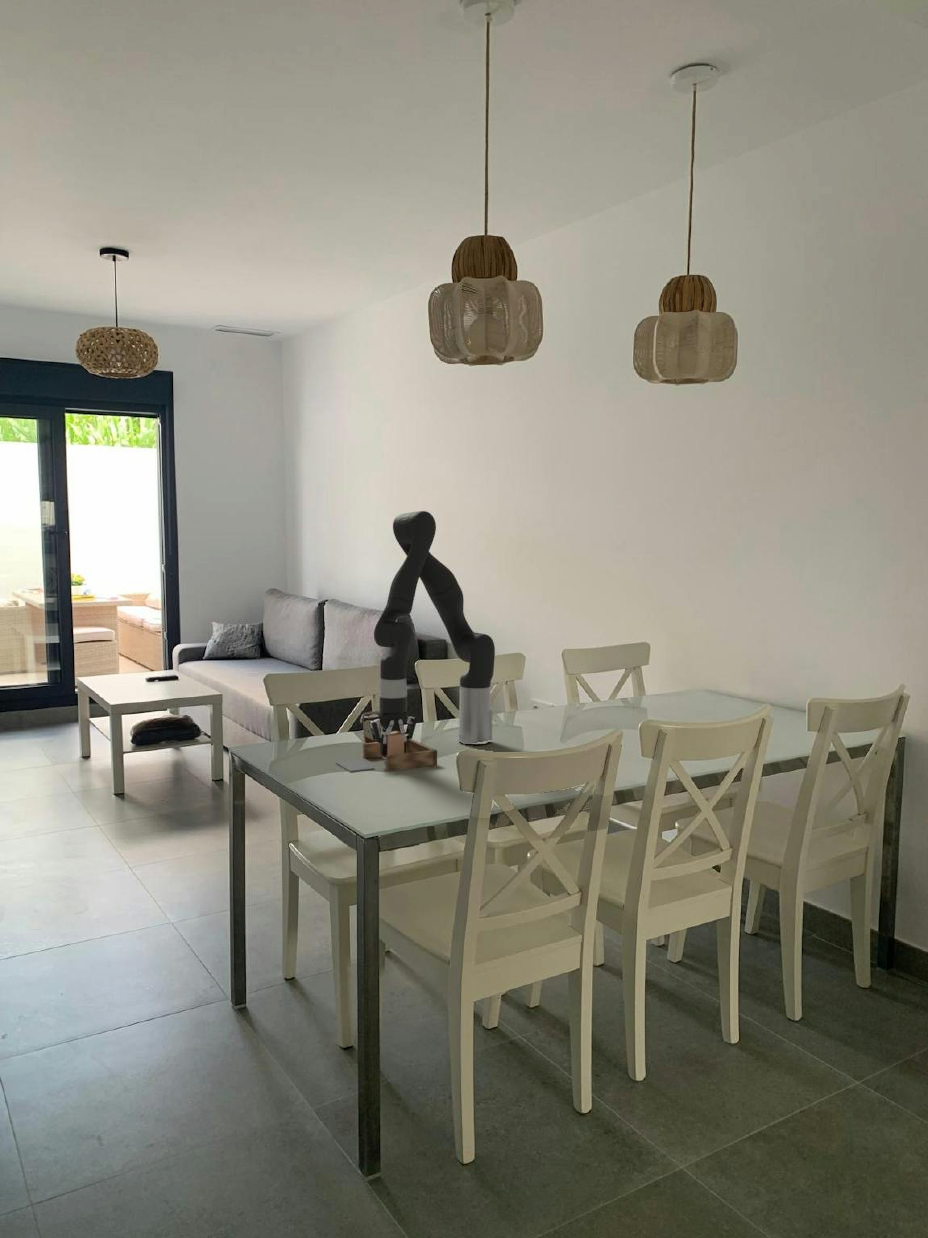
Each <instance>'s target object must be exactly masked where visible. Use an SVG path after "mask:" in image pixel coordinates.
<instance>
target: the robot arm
mask: <svg viewBox="0 0 928 1238" xmlns="http://www.w3.org/2000/svg"><path fill="white" fill-rule="evenodd" d="M436 524H437V523H436V519H435V517H434V516H433V515H432V513H431V512H429V511H425V510H419V511H413V512H406V513H400V514H399V515H397V516H395V518H394V520H393V521H392V532H393V534H394V537H395V540H396V541H397V543H398V545H399V546H400V548H401V550H402V551H403V552H404V554H405V555H406V558H405V560H404V561H403V562H402V564H401V566H400V567H399V569H398V571H396V573H395V575H394V577H393V579H392V581H391V584H390V588H389V593H388V596H387V602H386V605H385V607H384V609H383V611H382V613H381V615H380V617H379V619H378V620H377V621H376V625H375V627H374V630H373V639H374V642H375V644H376V645H377V646H379V647H382V648H392V649H395V651H394V654H393V655H387V656H384V657H382V658H381V659H380V667H379V668H380V673H379V674H380V675H379V677H380V678H379V679H380V680H379V693H378V694H379V696H378V697H379V698H378V699H379V701H378V702H379V707H378V709H379V710H378V711H380V715H379V717H378V719H377V720H374V721H369V725H370V729H371V733H372V736H373V740H374V741H376V742H378V743H380V753H381V755H382V756H383V757H386V755H387V744H386V743H387V740H388V736H390V733H391V732H393V731H396V732H398V733H400V734H404V753H405V752H406V741H407V740H408V739H413V736H414V733H415V729H416V725H417V722H418V719H417V718H416V717H414V716H408V713H407V711H408V685H407V662H408V657H409V654H410V650H411V645H412V643H413V638H414V632H413V629H412V626H411V625H410V624H408V623H407V622H401V621H400V622H399V621H397V620H398V619H400V618H403V617H407V616H410V614H411V612H412V610H413V605H414V600H415V596H416V591H417V587H418V583H419V579H420V581H421V582H422V584H423V586H424V589H425V590H426V593H427V595H428V597H429V599H430V601H431V602H432V605H433V606H434V607H435V609H436V612H437V614H438V616H439V617H440V619H441V621H442V623H443V626H444V628H445V629H446V632H447V633H448V637H449V639H450V642H451V644H452V647H453V650H454V652H455V654H456V656H457V657H458V658H459V659H460V660H461V661H463V662H465V663H469V668H468V672H467V673H466V674H463V675H461V676H460V678H459V707H458V708H459V709H458V710H459V712H458V715H459V717H458V720H459V721H458V724H459V725H458V726H459V727H458V743H459V742H461V743H463V744H462V745H465V744H471V743H477V742H483V741H488V740H492V741H493V724H494V723H493V721H494V720H493V717H494V715H493V713H494V712H493V711H492V710H491V685H492V683H491V682H492V679H493V677H494V671H495V655H496V652H495V651H496V650H495V642H494V640H493V638H492V637H491V636H490V635H489V634H485V633H479V632H474V631H473V629H472V628H471V626H470V625H469V623H468V621H467V619H466V617H465V613H464V601H465V600H464V593H463V590H462V588H461V587H460V585H459V582H458V580H457V578H456V577H455V574H454V573H453V572H452V571H451V570H450V569H449V568H448V566H446V565H445V564H444V563H442V562H441V561H440V560H439V559H438V558H436V557H435V556H434V555H433V554H432V553H431V551H430V550H431V548H432V547H431V546H432V544H433V542H434V539H435V535H436V531H437V525H436ZM379 723H380V724H381V725H382V729H381V736H380V734H379V731H378V727H379ZM405 724H407V725H406V729H405V727H404V725H405ZM461 743H460V744H461Z"/></svg>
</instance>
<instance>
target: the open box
mask: <svg viewBox="0 0 928 1238" xmlns="http://www.w3.org/2000/svg"><path fill="white" fill-rule="evenodd" d="M362 747H363V748H362V749H363V751H362V753H363V755H362V756H363V757H362V758H363V759H373V758H380V757H381V758H382V755H381V753H380V743H378V742H373V743H363V746H362ZM385 760H386V761H385V764H386V765H385V771H387V770H388V771H387V772H390V770H392V771H399V770H398V769H401V770H406V769H407V770H408V769H414V768H415V769H417V768H424V767H431V766H430V765H433V766H438V750H436V749H435V748H433V747H430V746H428V745H425V744H423V743H422V742H419V741H418V740H415V739H413V738H412V739H408V740H407V741H406V752H405V753H402V754H393V755H386V759H385Z"/></svg>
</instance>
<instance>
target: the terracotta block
mask: <svg viewBox="0 0 928 1238" xmlns="http://www.w3.org/2000/svg"><path fill="white" fill-rule="evenodd" d="M386 744H387V755H393V754H402V753H404V734H400V733H398V732H396V731H394V732H391V733H390V736H388V740H387V743H386ZM381 758H382V759H384V760H386V757H383V756H382V757H381Z"/></svg>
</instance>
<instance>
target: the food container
mask: <svg viewBox="0 0 928 1238" xmlns="http://www.w3.org/2000/svg"><path fill="white" fill-rule="evenodd" d="M379 715H380V711H379V710H377V711H376V710H375V711H373V710H372V711H368V712H364V713H362V714H361V717H360V724H362V729H363V730H362V731H363V739H364V741H363V742H364V743H373V742H376V741H374V740H373V736H372V733H371V729H370V725H369V721H374V720H377V719H378V717H379ZM381 729H382V725H381V724H380V723H379V727H378V731H379V734H380V736H381ZM393 732H394V731H393Z"/></svg>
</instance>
